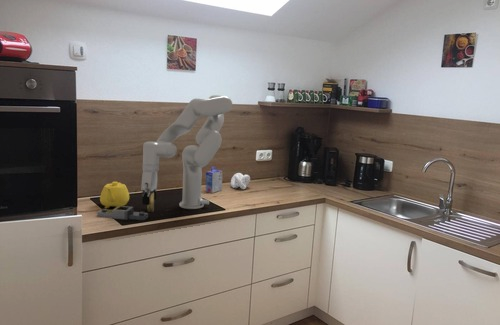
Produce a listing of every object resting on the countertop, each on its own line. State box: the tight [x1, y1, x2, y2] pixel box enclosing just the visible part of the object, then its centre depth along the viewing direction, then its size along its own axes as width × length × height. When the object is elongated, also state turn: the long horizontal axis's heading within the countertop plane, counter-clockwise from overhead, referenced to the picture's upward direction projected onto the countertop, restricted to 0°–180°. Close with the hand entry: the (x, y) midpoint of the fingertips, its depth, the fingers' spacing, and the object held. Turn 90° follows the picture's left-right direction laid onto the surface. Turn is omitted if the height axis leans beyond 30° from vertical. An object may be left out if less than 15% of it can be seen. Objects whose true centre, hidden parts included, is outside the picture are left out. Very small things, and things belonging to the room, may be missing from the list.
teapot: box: [99, 181, 130, 209], centre depth 207 cm, size 13×20×12 cm
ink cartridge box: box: [205, 166, 223, 194], centre depth 248 cm, size 10×6×14 cm, turn 148°
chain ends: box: [96, 205, 149, 221], centre depth 193 cm, size 22×7×4 cm, turn 84°
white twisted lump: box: [230, 172, 251, 191], centre depth 258 cm, size 11×12×9 cm
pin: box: [147, 191, 155, 213], centre depth 203 cm, size 3×3×10 cm
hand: (149, 201), depth 203 cm, fingers open, 9 cm apart
